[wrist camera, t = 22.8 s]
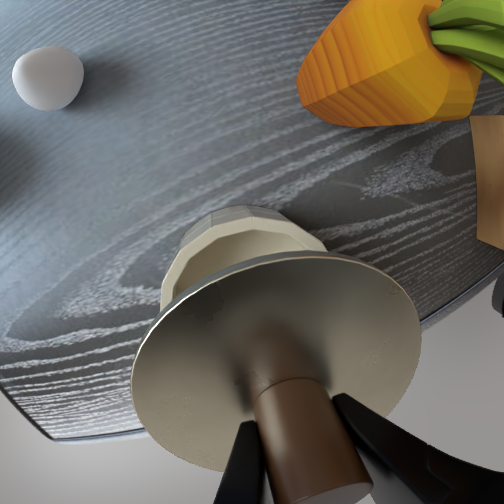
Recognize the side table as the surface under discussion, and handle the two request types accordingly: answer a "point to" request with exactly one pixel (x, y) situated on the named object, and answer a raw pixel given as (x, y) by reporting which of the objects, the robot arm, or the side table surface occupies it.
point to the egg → (48, 77)
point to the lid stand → (489, 177)
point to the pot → (231, 244)
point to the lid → (278, 367)
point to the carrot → (403, 61)
